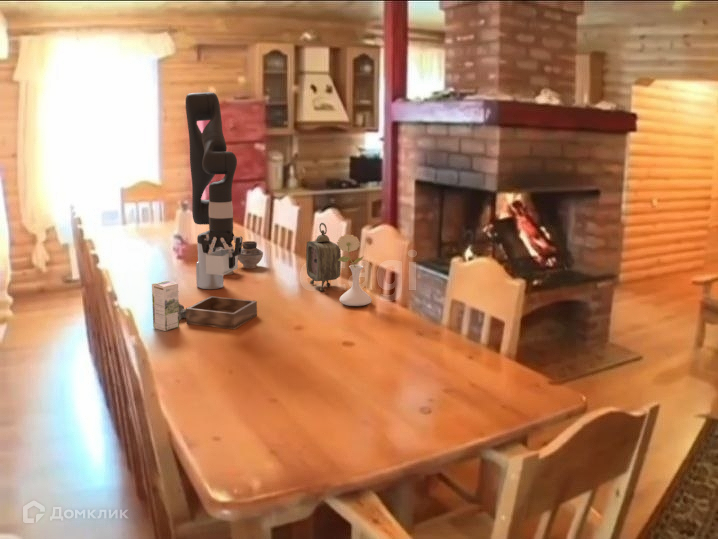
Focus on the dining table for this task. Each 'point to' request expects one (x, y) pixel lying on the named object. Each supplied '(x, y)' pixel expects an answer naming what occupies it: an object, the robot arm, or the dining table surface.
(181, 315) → the egg carton
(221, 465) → the dining table surface
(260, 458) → the dining table surface
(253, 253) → the pottery
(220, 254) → the small crate
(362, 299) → the flower in vase
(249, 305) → the walnut crate
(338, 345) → the dining table surface
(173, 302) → the syrup box
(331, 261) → the tabletop clock
